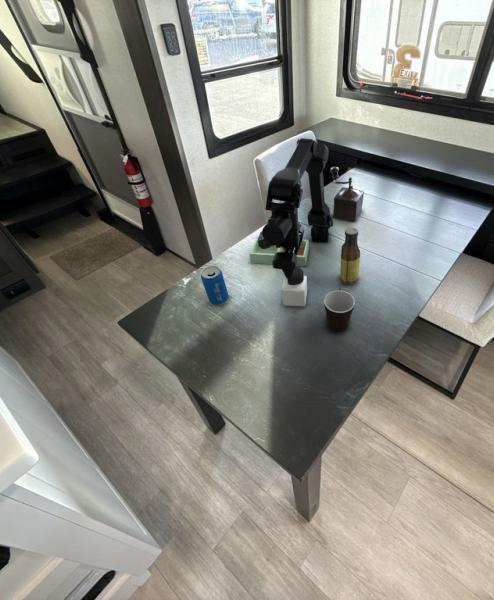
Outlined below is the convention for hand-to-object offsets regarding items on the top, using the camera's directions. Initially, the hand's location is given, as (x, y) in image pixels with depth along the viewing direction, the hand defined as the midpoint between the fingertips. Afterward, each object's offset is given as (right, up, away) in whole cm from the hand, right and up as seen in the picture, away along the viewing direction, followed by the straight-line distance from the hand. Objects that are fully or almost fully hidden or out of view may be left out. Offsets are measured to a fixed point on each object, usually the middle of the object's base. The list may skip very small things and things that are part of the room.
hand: (290, 268), depth 95 cm
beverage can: (-24, -10, +8) cm, 27 cm away
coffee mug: (+15, -16, +1) cm, 22 cm away
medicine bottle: (+1, -9, +8) cm, 12 cm away
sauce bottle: (+19, -3, +13) cm, 24 cm away
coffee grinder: (+21, +29, +44) cm, 57 cm away
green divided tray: (-5, +7, +24) cm, 25 cm away
